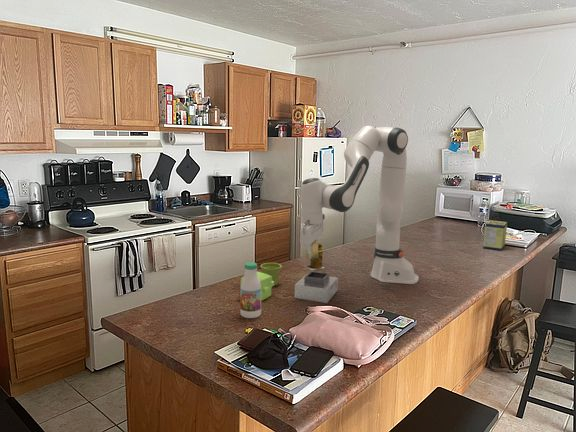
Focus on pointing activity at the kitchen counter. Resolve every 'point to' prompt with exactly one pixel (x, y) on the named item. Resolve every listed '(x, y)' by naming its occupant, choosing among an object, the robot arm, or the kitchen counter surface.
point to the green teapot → (264, 285)
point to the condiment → (316, 260)
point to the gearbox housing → (316, 287)
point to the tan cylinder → (313, 251)
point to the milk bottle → (250, 292)
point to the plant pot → (272, 270)
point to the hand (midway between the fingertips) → (312, 251)
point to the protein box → (495, 235)
